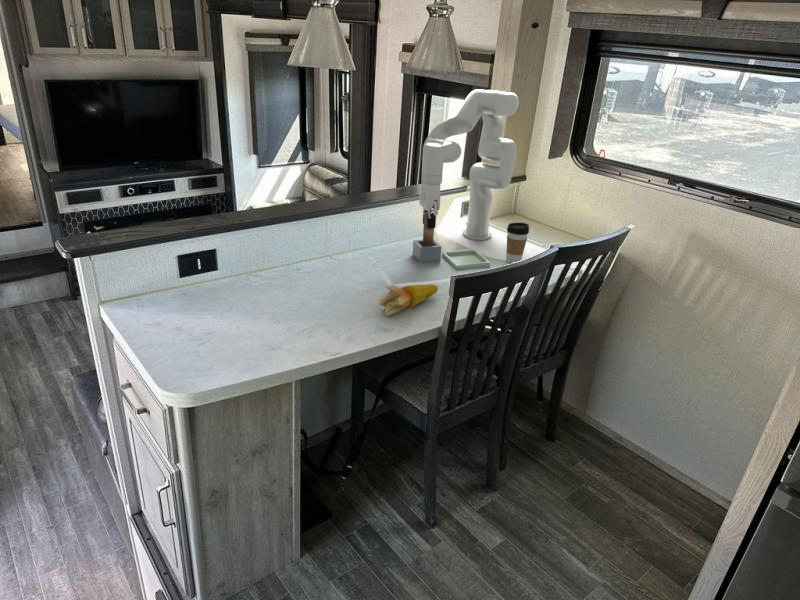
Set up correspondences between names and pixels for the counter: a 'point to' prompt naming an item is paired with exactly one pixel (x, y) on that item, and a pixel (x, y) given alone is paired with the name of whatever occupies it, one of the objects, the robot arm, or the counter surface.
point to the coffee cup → (516, 241)
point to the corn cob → (405, 297)
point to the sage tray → (465, 259)
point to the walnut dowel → (427, 232)
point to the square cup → (426, 251)
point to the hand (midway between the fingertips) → (428, 225)
